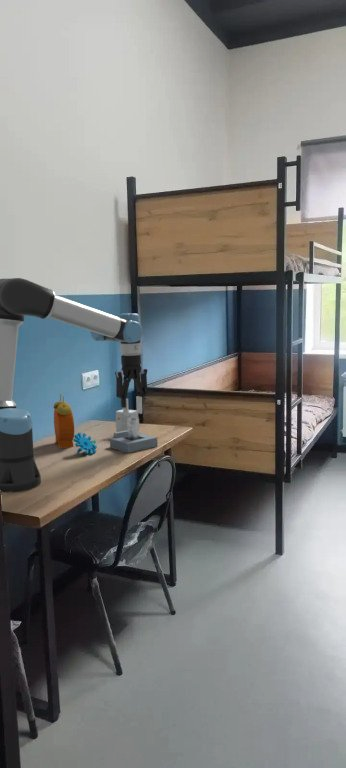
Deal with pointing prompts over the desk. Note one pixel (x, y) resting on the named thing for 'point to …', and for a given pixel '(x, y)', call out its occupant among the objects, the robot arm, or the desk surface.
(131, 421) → the bushing
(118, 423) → the small box
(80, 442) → the gear
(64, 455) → the desk surface
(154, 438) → the frame
